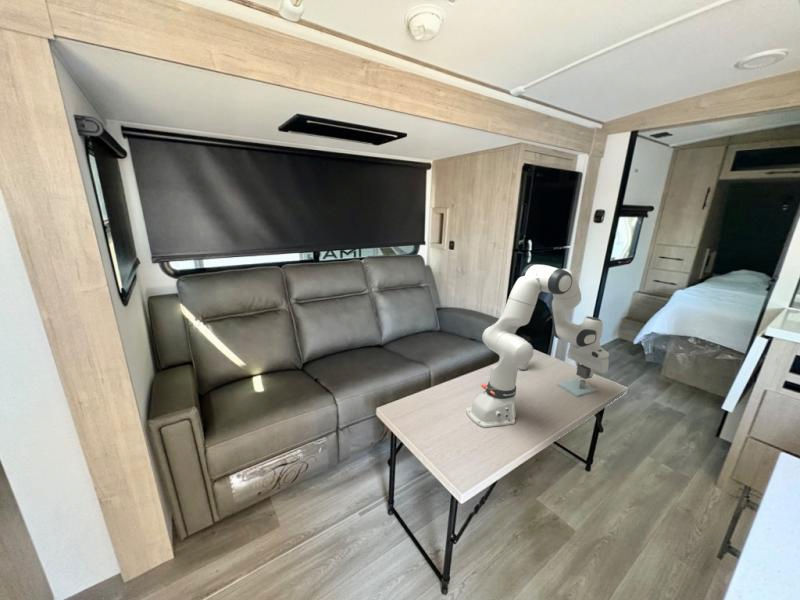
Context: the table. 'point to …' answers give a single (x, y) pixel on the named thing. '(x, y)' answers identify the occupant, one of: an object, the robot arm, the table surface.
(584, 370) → the dark brown block
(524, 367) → the travel mug
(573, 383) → the hub plate
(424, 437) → the table surface
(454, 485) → the table surface
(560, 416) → the table surface
